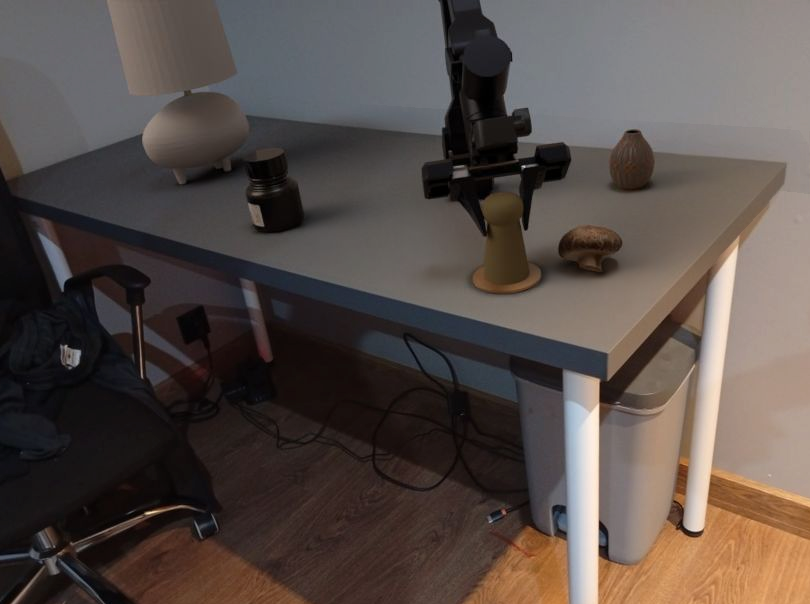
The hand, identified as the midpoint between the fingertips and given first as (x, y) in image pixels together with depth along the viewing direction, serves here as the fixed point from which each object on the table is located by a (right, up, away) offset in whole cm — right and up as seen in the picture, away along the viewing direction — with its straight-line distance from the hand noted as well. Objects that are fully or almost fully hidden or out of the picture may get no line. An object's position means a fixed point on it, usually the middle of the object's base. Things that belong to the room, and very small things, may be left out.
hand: (505, 232), depth 93 cm
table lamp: (-55, +23, +64) cm, 87 cm away
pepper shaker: (+1, -5, +5) cm, 7 cm away
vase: (+24, +12, +27) cm, 38 cm away
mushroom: (+12, -4, +4) cm, 13 cm away
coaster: (+1, -5, +5) cm, 7 cm away
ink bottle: (-34, +7, +33) cm, 48 cm away
